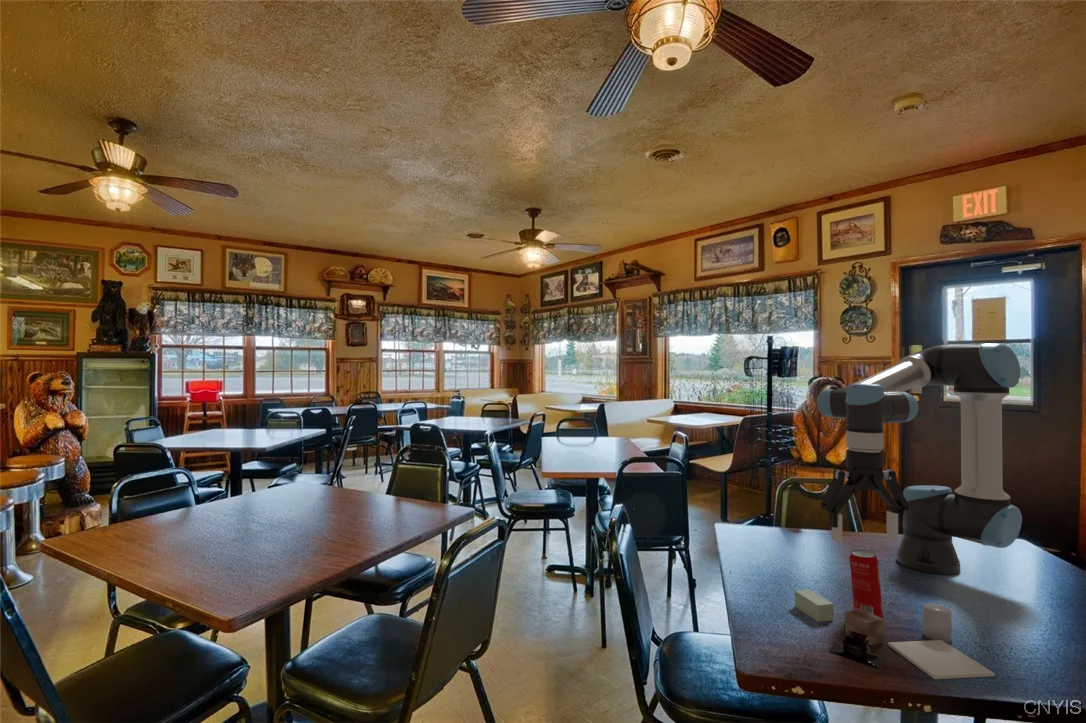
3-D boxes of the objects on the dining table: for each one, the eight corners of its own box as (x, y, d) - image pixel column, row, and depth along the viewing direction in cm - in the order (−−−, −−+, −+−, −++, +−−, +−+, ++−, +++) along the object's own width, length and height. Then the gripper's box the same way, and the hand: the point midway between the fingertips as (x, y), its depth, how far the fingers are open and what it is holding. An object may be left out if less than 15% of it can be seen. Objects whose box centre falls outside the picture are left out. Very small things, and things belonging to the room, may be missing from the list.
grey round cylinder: (938, 630, 116) (938, 603, 116) (957, 642, 111) (957, 613, 111) (917, 630, 116) (916, 603, 116) (935, 642, 111) (935, 614, 111)
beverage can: (887, 624, 118) (886, 558, 119) (856, 622, 120) (855, 556, 120) (876, 612, 124) (875, 549, 124) (846, 610, 126) (845, 547, 126)
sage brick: (809, 605, 129) (809, 589, 129) (833, 621, 121) (833, 603, 121) (795, 607, 128) (794, 590, 128) (818, 622, 120) (818, 605, 120)
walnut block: (862, 631, 116) (862, 608, 116) (883, 642, 111) (883, 619, 111) (845, 635, 114) (845, 612, 114) (866, 646, 109) (866, 623, 109)
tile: (941, 642, 111) (941, 639, 111) (994, 676, 99) (994, 673, 99) (887, 645, 110) (887, 642, 110) (934, 679, 98) (934, 676, 98)
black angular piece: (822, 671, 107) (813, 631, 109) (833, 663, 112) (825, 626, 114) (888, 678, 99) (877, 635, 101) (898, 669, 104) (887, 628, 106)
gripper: (902, 447, 127) (903, 534, 127) (804, 447, 125) (804, 536, 125) (927, 451, 120) (928, 544, 119) (823, 452, 118) (823, 546, 117)
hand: (864, 540), depth 122 cm, fingers open, 13 cm apart
